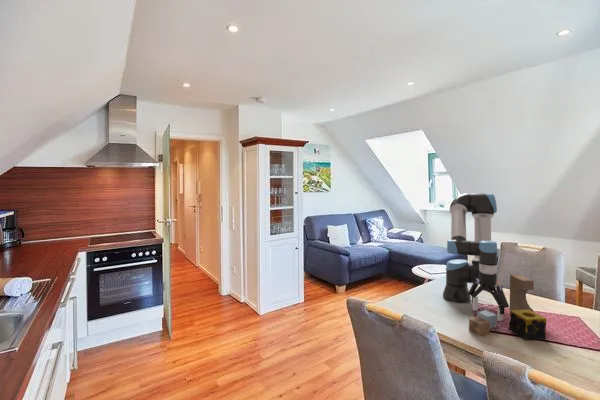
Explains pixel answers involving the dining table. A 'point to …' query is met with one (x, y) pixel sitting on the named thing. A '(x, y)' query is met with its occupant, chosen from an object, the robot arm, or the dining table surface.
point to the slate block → (488, 317)
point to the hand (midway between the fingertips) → (487, 314)
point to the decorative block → (519, 292)
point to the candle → (527, 324)
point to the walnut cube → (479, 326)
